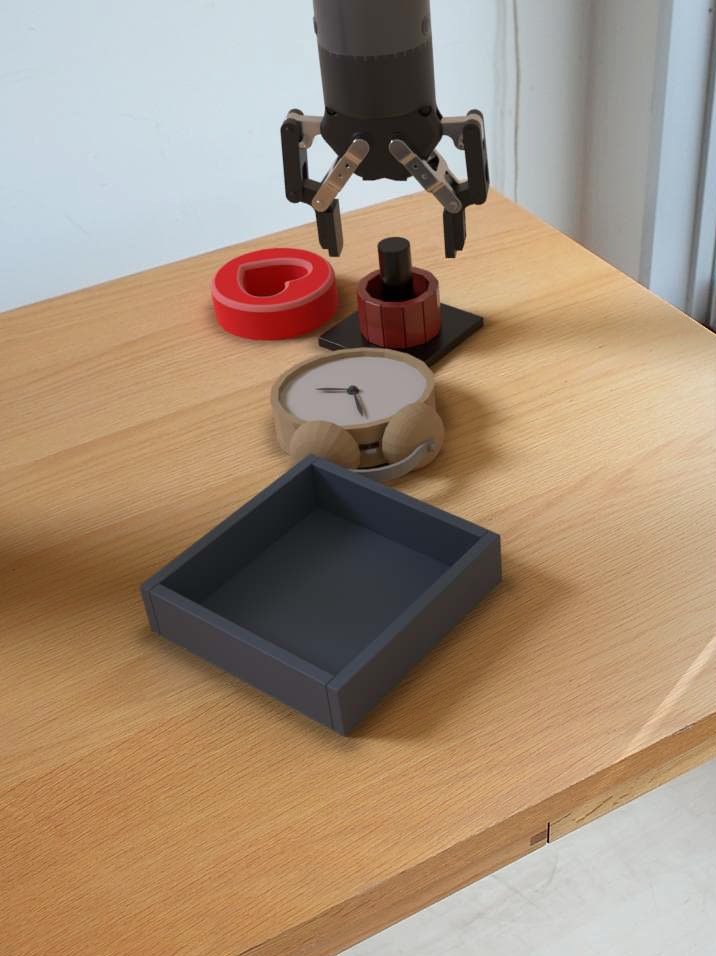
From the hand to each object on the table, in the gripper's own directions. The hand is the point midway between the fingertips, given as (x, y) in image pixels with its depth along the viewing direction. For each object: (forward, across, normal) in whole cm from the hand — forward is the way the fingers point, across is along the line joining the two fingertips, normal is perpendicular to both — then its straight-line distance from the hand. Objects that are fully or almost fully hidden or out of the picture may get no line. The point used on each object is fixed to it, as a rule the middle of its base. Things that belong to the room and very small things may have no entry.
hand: (393, 252), depth 96 cm
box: (+7, 0, +30) cm, 31 cm away
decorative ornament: (+7, +10, -4) cm, 13 cm away
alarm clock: (+8, +1, +13) cm, 15 cm away
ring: (+6, 0, 0) cm, 6 cm away
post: (+7, 0, 0) cm, 7 cm away
